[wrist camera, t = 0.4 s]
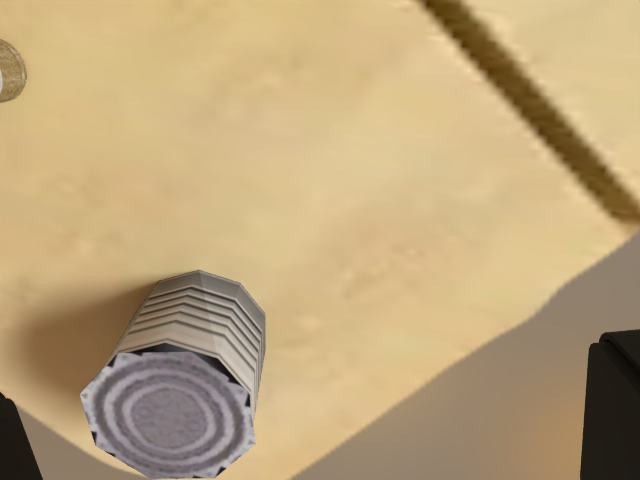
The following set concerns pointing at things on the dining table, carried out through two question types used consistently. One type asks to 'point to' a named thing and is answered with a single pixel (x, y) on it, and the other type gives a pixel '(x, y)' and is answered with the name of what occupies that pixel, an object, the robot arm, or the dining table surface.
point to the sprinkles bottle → (11, 72)
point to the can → (182, 380)
